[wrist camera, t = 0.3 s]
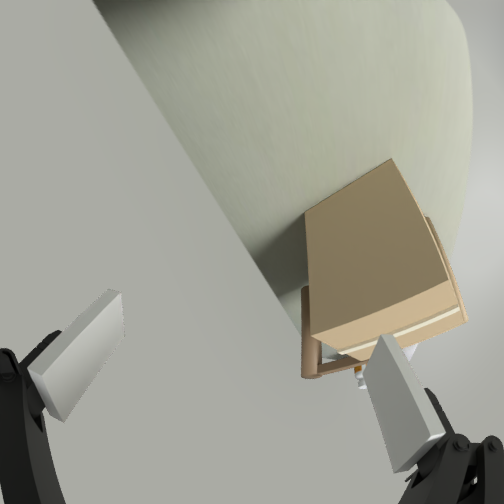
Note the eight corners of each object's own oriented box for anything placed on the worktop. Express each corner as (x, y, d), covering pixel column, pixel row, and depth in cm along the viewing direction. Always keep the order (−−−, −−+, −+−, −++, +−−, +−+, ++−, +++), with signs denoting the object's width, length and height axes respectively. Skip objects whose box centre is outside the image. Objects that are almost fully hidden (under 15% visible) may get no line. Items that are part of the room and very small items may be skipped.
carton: (391, 158, 23) (450, 283, 14) (423, 213, 27) (465, 325, 18) (304, 212, 29) (310, 339, 20) (347, 254, 34) (361, 364, 24)
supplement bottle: (356, 352, 59) (358, 390, 53) (350, 345, 56) (352, 386, 50) (377, 346, 57) (381, 386, 50) (373, 339, 53) (377, 382, 47)
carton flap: (426, 212, 27) (468, 319, 18) (432, 224, 28) (470, 327, 19) (297, 279, 38) (296, 376, 29) (307, 286, 39) (309, 379, 30)
